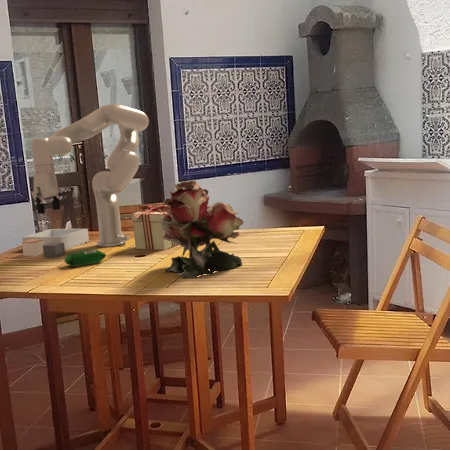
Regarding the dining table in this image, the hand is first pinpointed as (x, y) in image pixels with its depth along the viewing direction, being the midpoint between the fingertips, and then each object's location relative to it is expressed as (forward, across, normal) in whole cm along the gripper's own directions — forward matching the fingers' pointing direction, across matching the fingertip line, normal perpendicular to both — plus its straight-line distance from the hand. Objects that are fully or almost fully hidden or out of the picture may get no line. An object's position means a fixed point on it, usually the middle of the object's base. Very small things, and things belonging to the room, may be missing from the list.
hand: (49, 211), depth 258 cm
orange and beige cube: (+18, -2, -12) cm, 22 cm away
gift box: (+19, -19, +38) cm, 46 cm away
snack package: (+19, +13, +24) cm, 33 cm away
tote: (+18, -19, -13) cm, 29 cm away
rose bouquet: (+19, +14, +71) cm, 75 cm away
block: (+18, 0, 0) cm, 18 cm away
